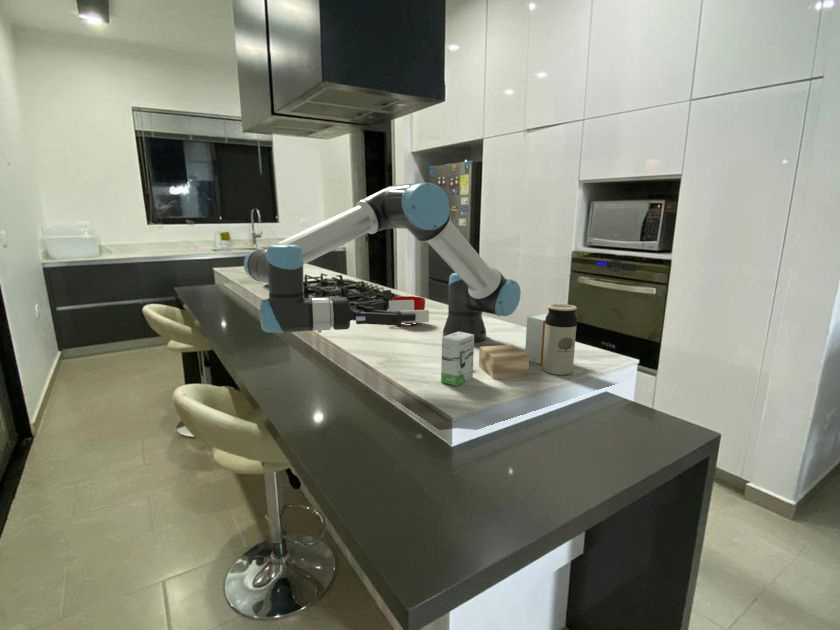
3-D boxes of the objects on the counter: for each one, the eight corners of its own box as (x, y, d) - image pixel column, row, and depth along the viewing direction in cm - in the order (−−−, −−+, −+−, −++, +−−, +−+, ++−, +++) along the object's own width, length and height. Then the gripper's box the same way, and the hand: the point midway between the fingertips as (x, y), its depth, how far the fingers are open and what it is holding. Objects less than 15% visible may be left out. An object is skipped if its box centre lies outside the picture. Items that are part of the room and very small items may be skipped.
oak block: (478, 367, 126) (479, 346, 124) (511, 364, 128) (512, 344, 127) (492, 379, 116) (493, 357, 115) (527, 376, 118) (529, 354, 117)
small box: (540, 365, 127) (543, 320, 125) (524, 359, 132) (526, 316, 130) (559, 360, 132) (562, 317, 129) (542, 355, 137) (545, 313, 134)
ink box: (456, 386, 110) (458, 340, 108) (439, 382, 113) (440, 337, 110) (473, 377, 117) (475, 333, 114) (457, 373, 120) (458, 330, 117)
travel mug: (540, 365, 127) (544, 303, 123) (569, 366, 126) (573, 303, 122) (544, 375, 119) (549, 308, 115) (575, 376, 118) (581, 309, 114)
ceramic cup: (379, 322, 180) (379, 297, 178) (419, 319, 185) (419, 295, 183) (386, 329, 168) (386, 303, 166) (429, 326, 173) (429, 301, 171)
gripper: (328, 318, 116) (408, 315, 121) (336, 343, 92) (435, 337, 97) (327, 289, 114) (408, 287, 119) (335, 307, 90) (436, 303, 96)
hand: (420, 310), depth 108 cm, fingers open, 13 cm apart
